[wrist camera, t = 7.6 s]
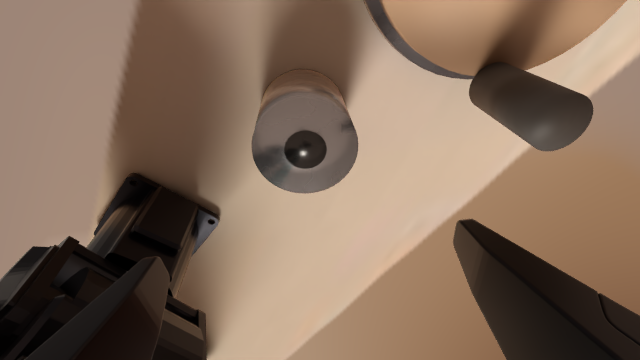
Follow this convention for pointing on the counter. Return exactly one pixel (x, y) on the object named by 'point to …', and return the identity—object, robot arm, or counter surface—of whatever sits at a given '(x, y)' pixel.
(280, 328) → the counter surface
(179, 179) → the counter surface
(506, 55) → the turntable
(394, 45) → the base
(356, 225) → the counter surface
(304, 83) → the cover
